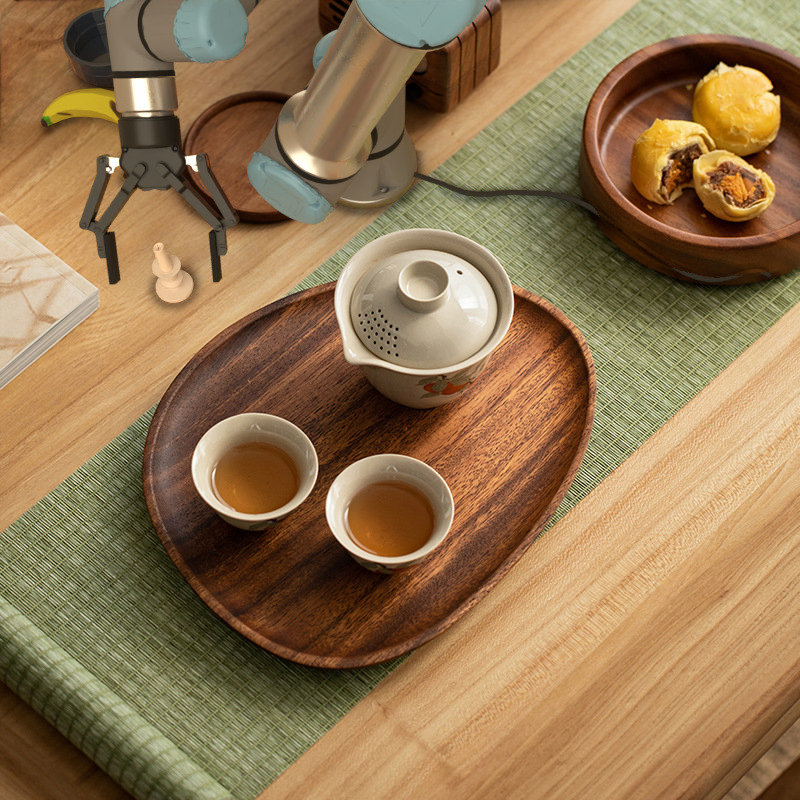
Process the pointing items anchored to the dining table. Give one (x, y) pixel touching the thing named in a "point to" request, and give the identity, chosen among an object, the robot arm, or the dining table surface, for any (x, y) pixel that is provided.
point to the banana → (83, 107)
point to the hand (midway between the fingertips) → (166, 281)
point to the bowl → (89, 48)
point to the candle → (170, 276)
